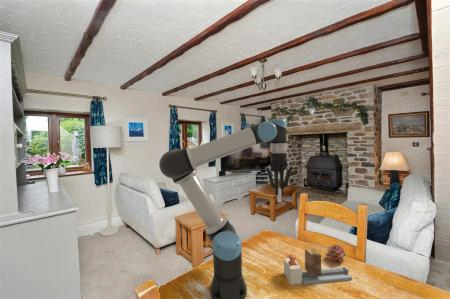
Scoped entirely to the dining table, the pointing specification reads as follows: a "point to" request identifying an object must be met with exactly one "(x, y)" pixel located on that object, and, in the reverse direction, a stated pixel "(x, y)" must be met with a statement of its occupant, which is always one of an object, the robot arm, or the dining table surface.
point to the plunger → (292, 259)
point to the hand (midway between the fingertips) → (279, 201)
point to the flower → (335, 253)
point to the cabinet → (293, 272)
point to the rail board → (327, 276)
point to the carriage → (312, 262)
